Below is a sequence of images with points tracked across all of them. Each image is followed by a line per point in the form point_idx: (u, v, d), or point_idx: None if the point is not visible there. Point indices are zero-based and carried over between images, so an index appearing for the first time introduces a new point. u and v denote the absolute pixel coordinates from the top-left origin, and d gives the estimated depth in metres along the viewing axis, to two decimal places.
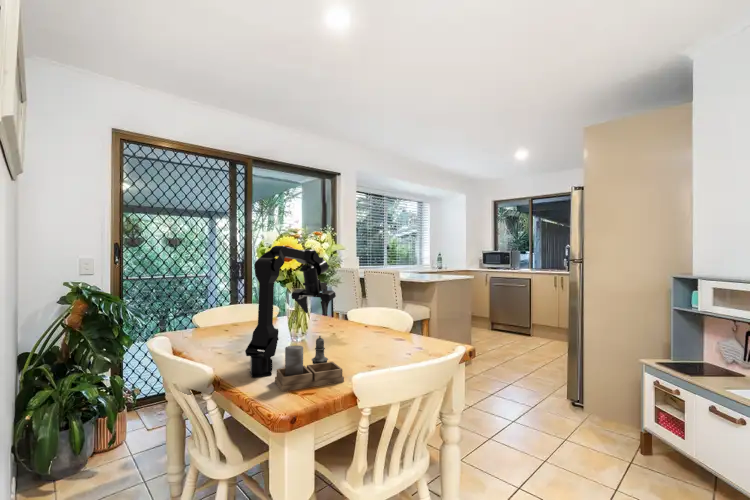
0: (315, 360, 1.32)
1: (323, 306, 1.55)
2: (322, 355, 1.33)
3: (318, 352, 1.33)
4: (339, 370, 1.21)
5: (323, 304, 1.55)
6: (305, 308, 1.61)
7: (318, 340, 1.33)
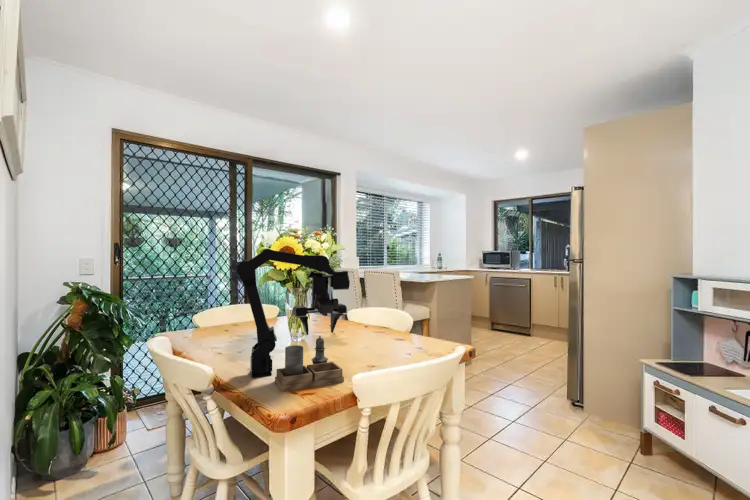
0: (315, 360, 1.32)
1: None
2: (322, 355, 1.33)
3: (318, 352, 1.33)
4: (339, 370, 1.21)
5: None
6: (331, 325, 1.37)
7: (318, 340, 1.33)
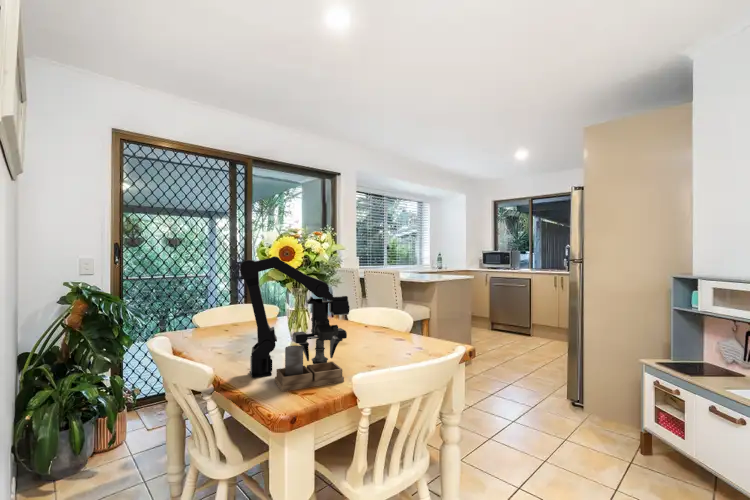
0: (315, 360, 1.32)
1: None
2: (322, 354, 1.33)
3: (318, 352, 1.33)
4: (339, 370, 1.21)
5: None
6: (330, 351, 1.37)
7: (318, 340, 1.33)
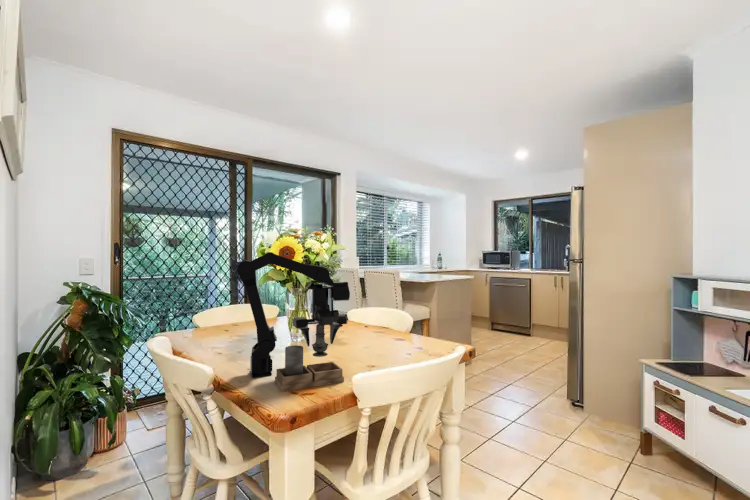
0: (316, 345, 1.32)
1: None
2: (323, 340, 1.34)
3: (319, 338, 1.33)
4: (339, 370, 1.21)
5: None
6: (330, 336, 1.37)
7: (319, 325, 1.33)
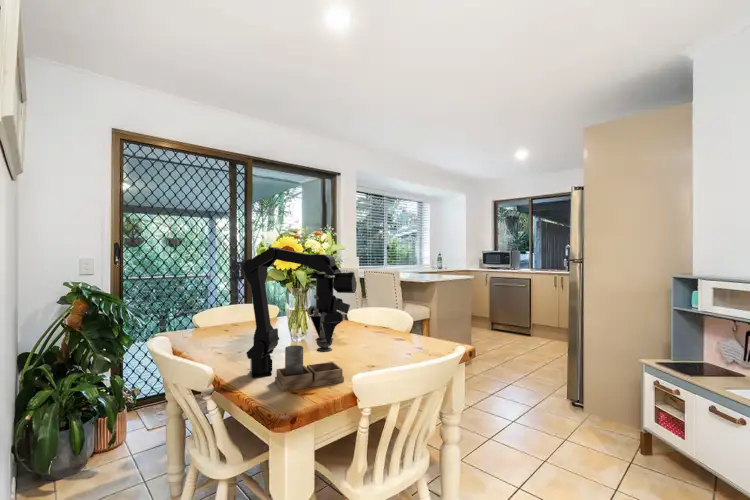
0: (331, 339, 1.23)
1: (323, 329, 1.18)
2: None
3: None
4: (339, 370, 1.21)
5: (322, 326, 1.18)
6: (318, 330, 1.28)
7: None
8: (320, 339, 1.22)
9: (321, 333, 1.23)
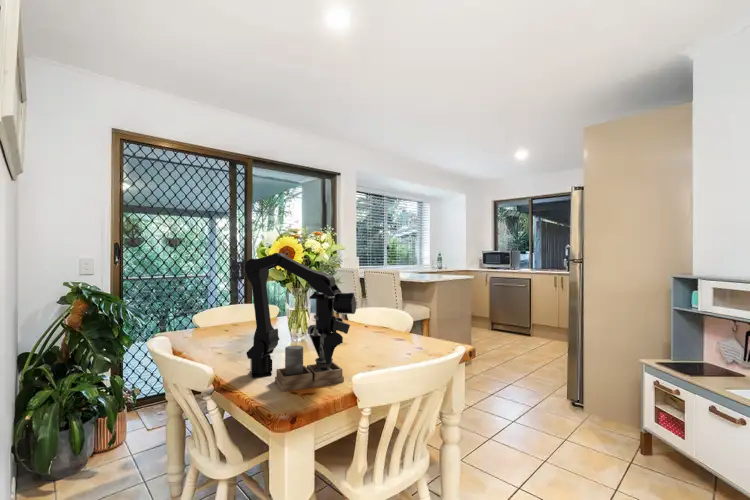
0: None
1: (322, 350, 1.18)
2: None
3: None
4: (339, 370, 1.21)
5: (322, 348, 1.18)
6: (318, 349, 1.27)
7: None
8: (320, 360, 1.22)
9: (321, 354, 1.23)
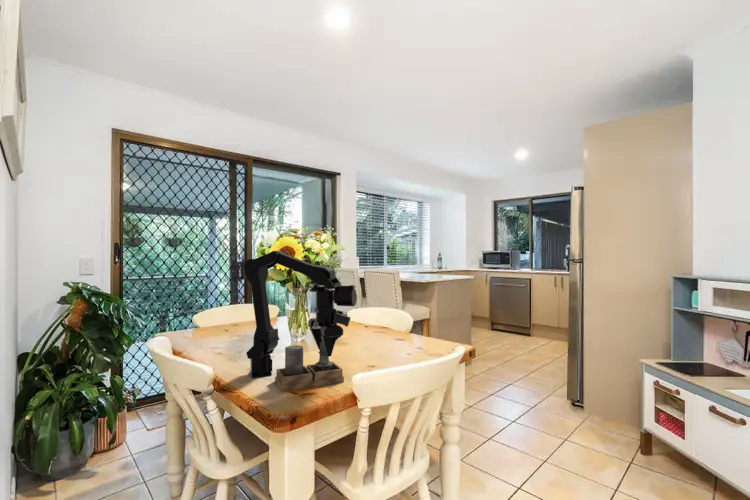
0: (323, 365, 1.21)
1: (323, 343, 1.18)
2: (328, 358, 1.24)
3: (325, 356, 1.23)
4: (339, 370, 1.21)
5: (323, 340, 1.17)
6: (318, 342, 1.28)
7: None
8: (317, 362, 1.24)
9: None
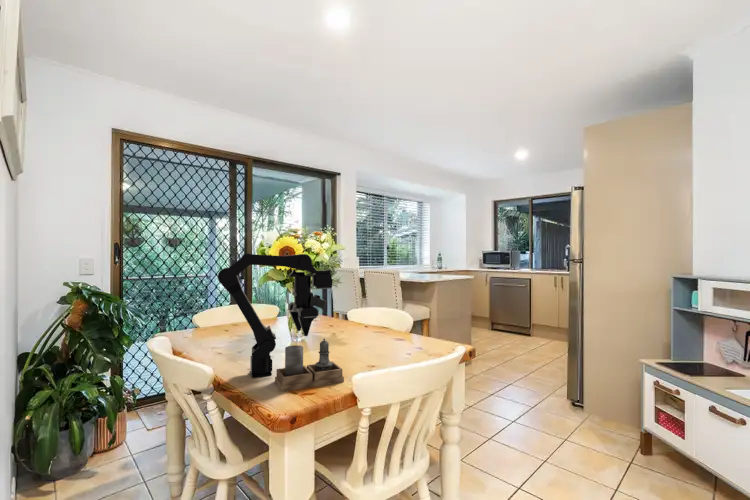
0: (323, 365, 1.21)
1: (300, 323, 1.27)
2: (328, 358, 1.24)
3: (325, 356, 1.23)
4: (339, 370, 1.21)
5: (299, 321, 1.27)
6: (297, 324, 1.37)
7: (324, 343, 1.23)
8: (317, 362, 1.24)
9: None
